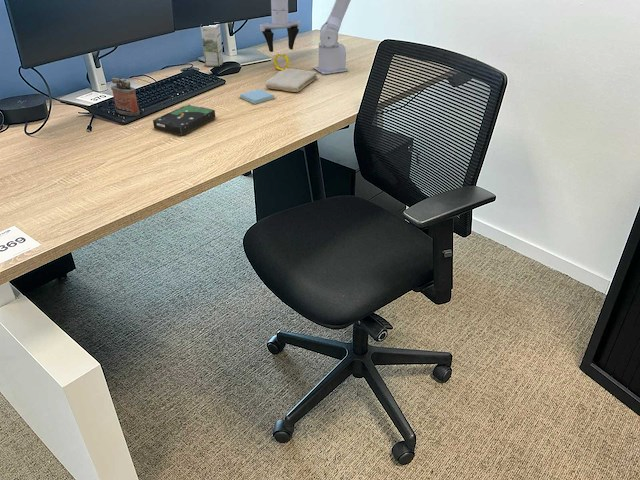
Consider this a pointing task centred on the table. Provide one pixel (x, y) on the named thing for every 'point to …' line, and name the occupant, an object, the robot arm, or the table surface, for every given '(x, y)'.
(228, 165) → the table surface
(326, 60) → the robot arm
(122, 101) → the lighter
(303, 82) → the washcloth
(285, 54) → the yellow ring
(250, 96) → the sticky note pad
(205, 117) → the disk drive
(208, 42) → the syrup box
